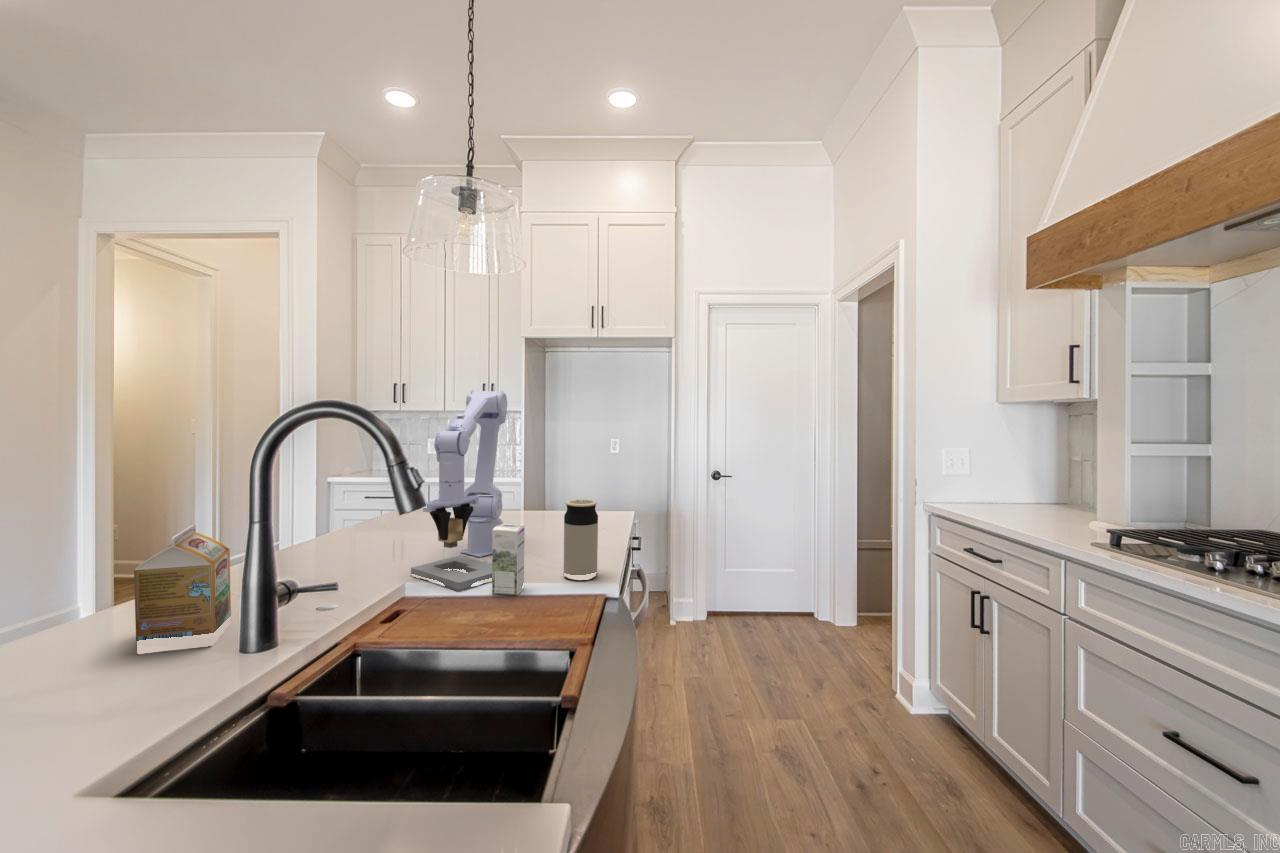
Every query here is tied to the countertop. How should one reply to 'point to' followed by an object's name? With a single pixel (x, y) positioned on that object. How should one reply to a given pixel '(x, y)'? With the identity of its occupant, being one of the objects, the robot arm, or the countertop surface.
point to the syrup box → (508, 559)
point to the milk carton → (183, 588)
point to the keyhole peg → (453, 533)
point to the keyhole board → (455, 572)
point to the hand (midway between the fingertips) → (451, 537)
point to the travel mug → (580, 537)
